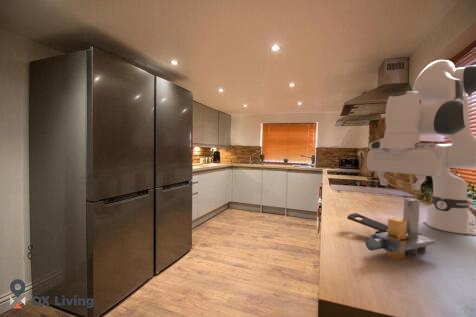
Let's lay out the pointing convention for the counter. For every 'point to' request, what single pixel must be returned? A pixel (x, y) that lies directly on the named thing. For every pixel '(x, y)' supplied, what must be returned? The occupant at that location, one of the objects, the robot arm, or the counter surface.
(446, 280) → the counter surface
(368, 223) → the zipper pull
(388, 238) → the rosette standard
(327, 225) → the counter surface
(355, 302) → the counter surface
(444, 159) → the robot arm
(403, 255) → the orange wooden block
